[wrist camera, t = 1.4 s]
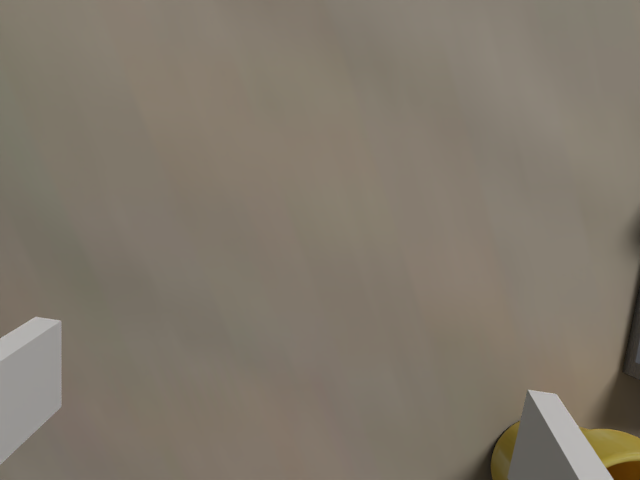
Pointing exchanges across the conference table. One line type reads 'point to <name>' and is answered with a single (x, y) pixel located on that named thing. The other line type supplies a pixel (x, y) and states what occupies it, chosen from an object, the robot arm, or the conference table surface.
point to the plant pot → (610, 445)
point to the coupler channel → (634, 345)
